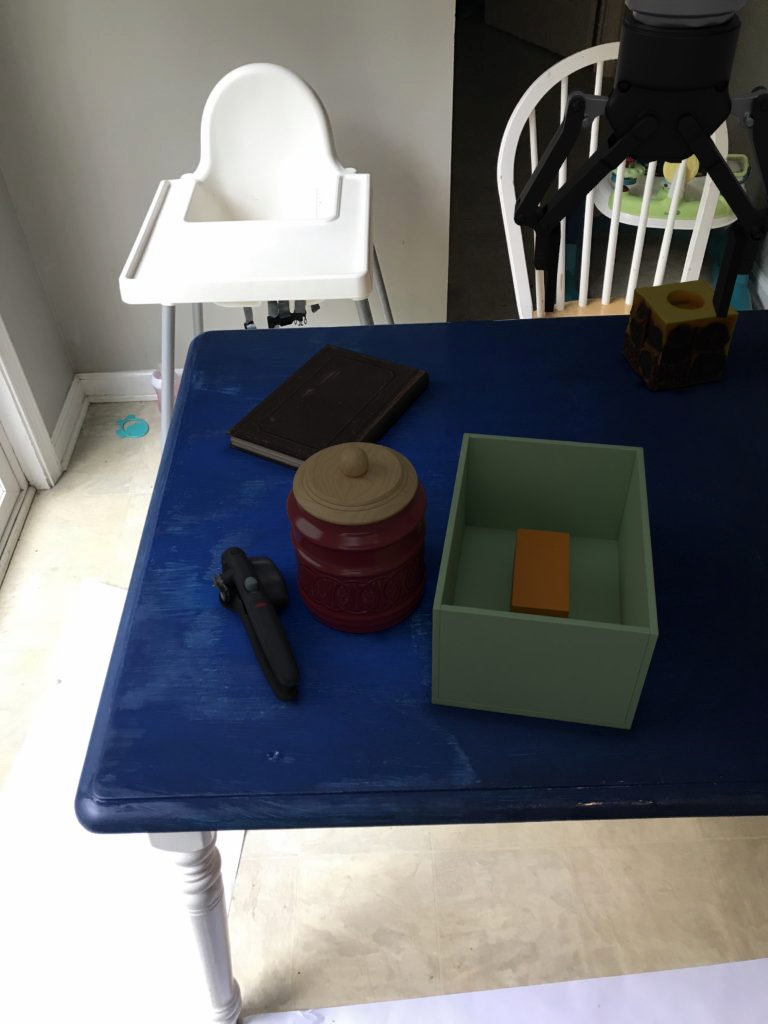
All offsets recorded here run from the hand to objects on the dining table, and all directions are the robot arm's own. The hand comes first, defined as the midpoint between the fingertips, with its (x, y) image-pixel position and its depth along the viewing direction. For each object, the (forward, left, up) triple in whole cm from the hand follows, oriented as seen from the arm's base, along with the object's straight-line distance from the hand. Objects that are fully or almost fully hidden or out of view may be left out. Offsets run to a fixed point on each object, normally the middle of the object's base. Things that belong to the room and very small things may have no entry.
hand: (632, 307), depth 68 cm
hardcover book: (+32, -20, -28) cm, 47 cm away
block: (+5, +10, -28) cm, 30 cm away
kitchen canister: (+22, +9, -28) cm, 37 cm away
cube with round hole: (-11, -37, -28) cm, 48 cm away
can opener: (+30, +16, -29) cm, 45 cm away
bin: (+5, +10, -28) cm, 30 cm away
